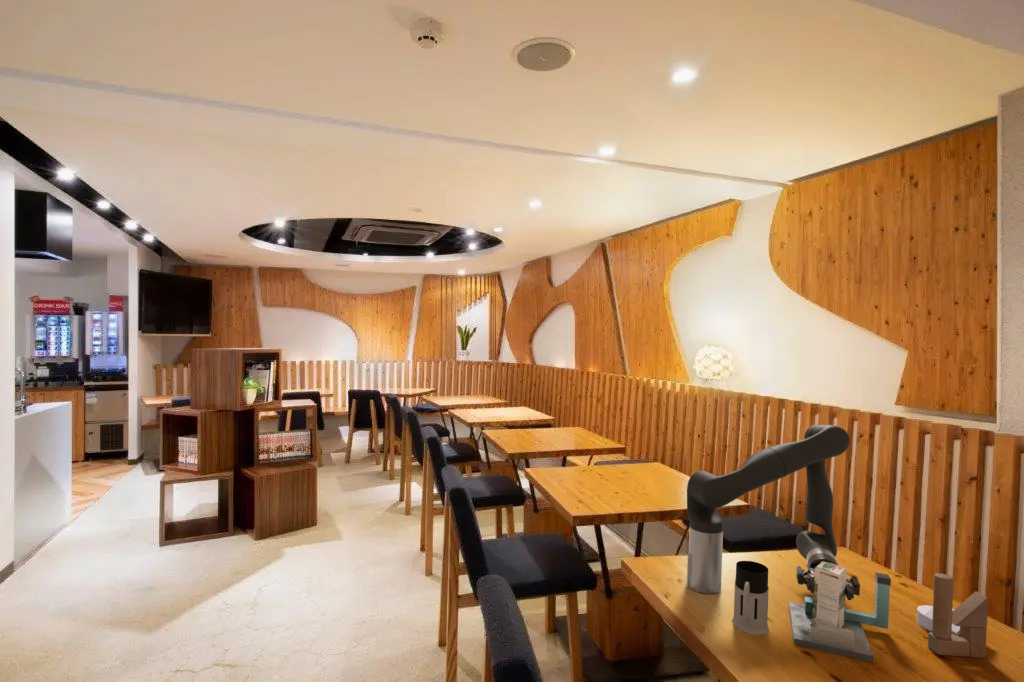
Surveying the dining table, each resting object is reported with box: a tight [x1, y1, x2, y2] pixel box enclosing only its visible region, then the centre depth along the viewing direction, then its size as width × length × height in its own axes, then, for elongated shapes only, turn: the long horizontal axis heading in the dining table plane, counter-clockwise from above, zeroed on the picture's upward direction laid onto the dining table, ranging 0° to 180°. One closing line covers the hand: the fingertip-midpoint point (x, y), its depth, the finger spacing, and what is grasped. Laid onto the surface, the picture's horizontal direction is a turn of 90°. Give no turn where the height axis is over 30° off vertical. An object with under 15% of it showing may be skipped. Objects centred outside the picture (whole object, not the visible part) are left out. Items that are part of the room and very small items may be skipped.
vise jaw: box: [803, 572, 892, 630], centre depth 139 cm, size 18×3×13 cm, turn 66°
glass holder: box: [731, 560, 770, 636], centre depth 135 cm, size 9×14×15 cm, turn 148°
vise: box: [788, 601, 874, 663], centre depth 135 cm, size 16×20×4 cm
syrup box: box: [812, 561, 848, 628], centre depth 134 cm, size 6×6×14 cm
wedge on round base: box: [916, 605, 960, 636], centre depth 138 cm, size 9×7×13 cm
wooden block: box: [927, 573, 989, 659], centre depth 128 cm, size 4×11×18 cm, turn 87°
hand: (831, 592), depth 132 cm, fingers closed on syrup box, 7 cm apart
